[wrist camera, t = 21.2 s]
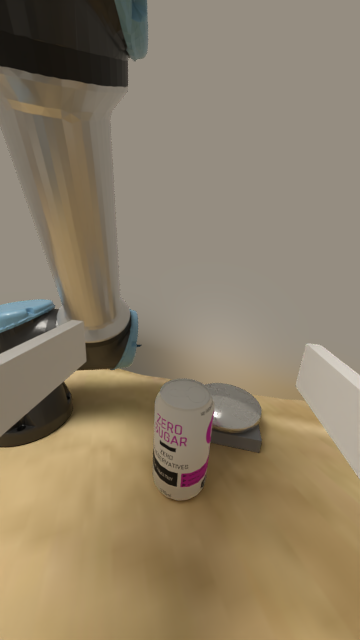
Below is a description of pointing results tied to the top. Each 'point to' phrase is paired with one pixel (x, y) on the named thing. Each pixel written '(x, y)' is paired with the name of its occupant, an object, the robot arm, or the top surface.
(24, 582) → the top surface
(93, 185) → the robot arm
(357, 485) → the top surface
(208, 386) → the scale plate
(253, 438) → the scale frame
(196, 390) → the supplement can
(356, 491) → the top surface
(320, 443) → the top surface
